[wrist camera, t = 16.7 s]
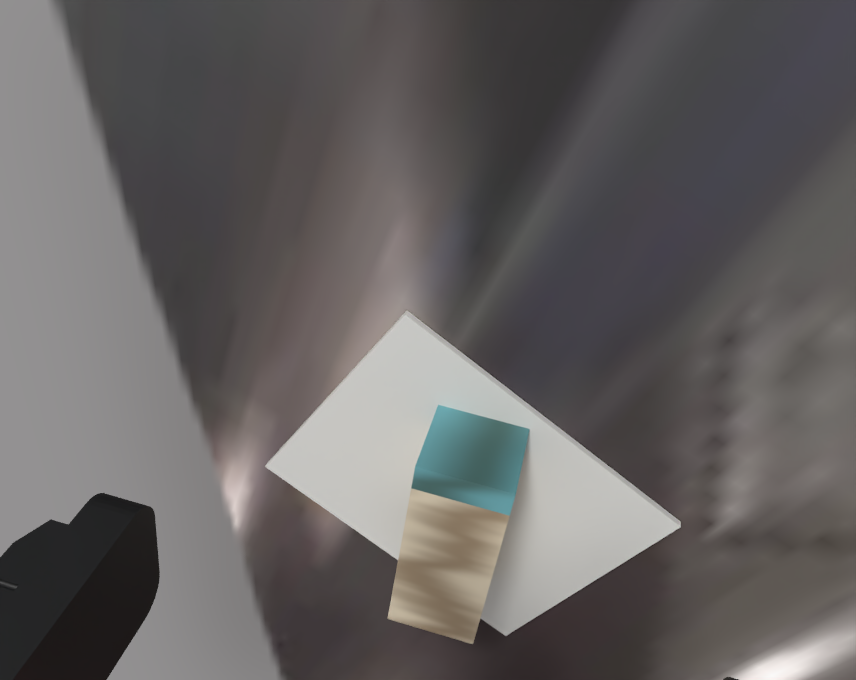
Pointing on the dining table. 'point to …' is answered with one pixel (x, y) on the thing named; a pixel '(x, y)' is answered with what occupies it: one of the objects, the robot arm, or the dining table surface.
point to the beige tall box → (456, 521)
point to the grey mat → (537, 488)
